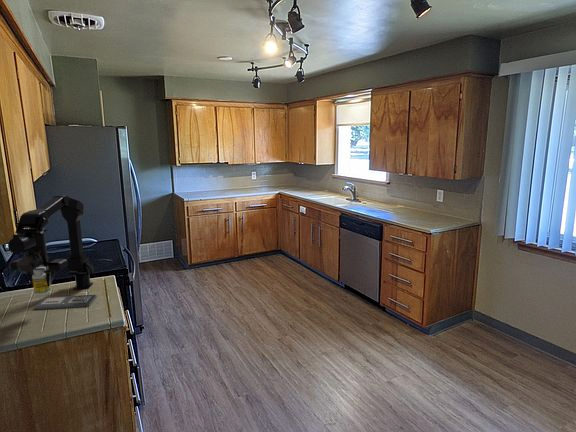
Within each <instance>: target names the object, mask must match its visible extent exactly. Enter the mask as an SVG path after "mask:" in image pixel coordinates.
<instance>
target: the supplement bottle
mask: <svg viewBox="0 0 576 432" xmlns="http://www.w3.org/2000/svg"><path fill="white" fill-rule="evenodd" d="M45 270H47V267H38V268H34V270H33V272H34V273H35V274H33V276H32V280H33V285H32V286H33V291H34V292H33V293H34V295H39V296H40V295H46V294H49V293H50V292H52V287H51V286H52V285H51V286H48V284H47V278H46V274H45V273H44V272H43V271H45Z"/></svg>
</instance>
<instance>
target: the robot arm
mask: <svg viewBox="0 0 576 432" xmlns="http://www.w3.org/2000/svg"><path fill="white" fill-rule="evenodd" d="M84 208H85V207H84V204H83V203H82V202H81V201H80V200H78V199H75V198H71V197H69V196H68V195H66V194H65V195H63V194H62V195H61V194H60V195H59V194H58V195H52V198H51V199H49V200H48V201H47V202H45V203H44V204H42V205H41V206H39V207H38V208H36V209H32V210H28V211H26V212H23V213H22V214H21V215H20V217H19V220H18V223H17V226H16V229H15V232H14V233H15V234H12V238H11V239H10V240H9V242H8V244H7V248H8V250H9V251H10V252H11V253H12V254H13V255H20V254H23V253H24V257H22V258H20V257H19V258H17V259H15V260H13V261H11V262H10V264H9V269H10V271H18V272H19V273H22V274H24V275H25V276H26V277H27V278H28V280H29V282H30V283H31V285H32V286H33V280H32V276H33V274H35V273H34V272H33V270H34V268H38V267H46V270H45V271H43V272H44V273H45V274H46V278H47V284H48V286H52V283H53V281H54V278H55V276H56V273H57V272H58V271H61V270H62V269H64V268H65V269H66V268H67V270H68V274H69V276H74V278H75V279H74V280H75V286H73V290H83V289H84V290H85V289H90V287H92V286H93V284H94V282H93V281H92V282H91V278H90V276H91V275H93V274H94V272H95V266H93V265H92V263H91V262H90V259H89V256H88V255H87V254H86V252H84V245H83V237H82V236H83V235H82V228H81V226H82V225H81V220H82V217H83V216H84ZM58 211H60V213H61V217H63V219H64V220H65V221H66V224H67V232H68V242H69V249H70V255H69V256H68V258H56V259H54V260H52V261H50V260H51V257H50V256H48V250H49V249H50V248H49V246H47V244H46V243H47V242H46V236H45V234H46V232H48V229H47V228H46V225H47V224H48V223H49V218H50V217H52V216H53V215H54V214H55V213H57V212H58Z"/></svg>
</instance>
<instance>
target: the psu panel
mask: <svg viewBox="0 0 576 432" xmlns="http://www.w3.org/2000/svg"><path fill="white" fill-rule="evenodd" d="M97 297H98V295H97V294H86V295H85V294H84V295H82V294H81V295H68V296H67V295H66V296H49V297H44V298H43V299H42V300H41V301H39V302H38V303H36V304H35V306H34V310H35V311H36V310H49V309H50V310H52V309H66V308H67V309H69V308H85V307H90V306H91V305H92V304H93V302H95V300H96V299H97Z"/></svg>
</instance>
